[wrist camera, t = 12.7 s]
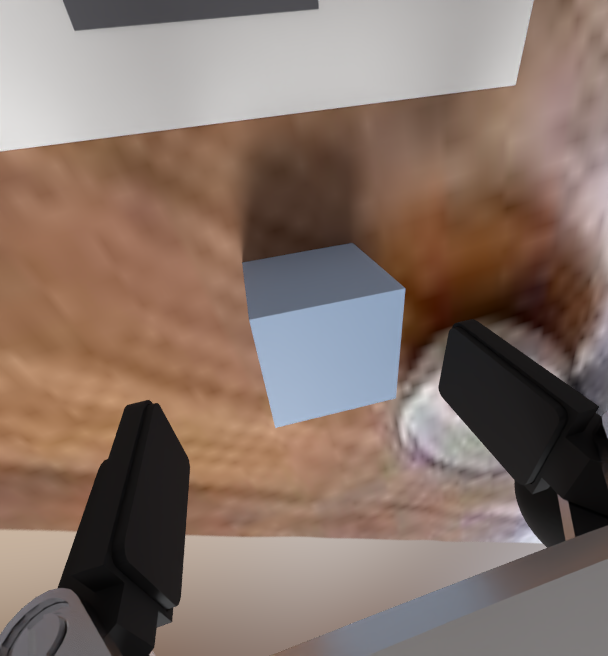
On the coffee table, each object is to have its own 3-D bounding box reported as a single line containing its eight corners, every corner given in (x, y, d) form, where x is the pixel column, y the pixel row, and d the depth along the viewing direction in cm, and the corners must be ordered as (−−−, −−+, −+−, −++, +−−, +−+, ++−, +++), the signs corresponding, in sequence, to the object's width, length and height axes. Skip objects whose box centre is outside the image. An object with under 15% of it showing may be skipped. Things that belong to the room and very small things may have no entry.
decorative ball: (484, 443, 26) (606, 590, 17) (597, 392, 25) (778, 518, 17) (490, 493, 31) (585, 622, 23) (583, 452, 31) (713, 569, 22)
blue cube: (351, 242, 14) (405, 288, 10) (353, 332, 17) (395, 398, 12) (242, 261, 13) (249, 319, 9) (262, 351, 16) (275, 427, 12)
